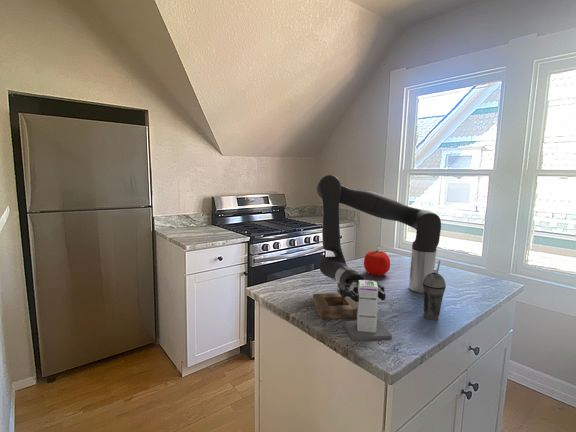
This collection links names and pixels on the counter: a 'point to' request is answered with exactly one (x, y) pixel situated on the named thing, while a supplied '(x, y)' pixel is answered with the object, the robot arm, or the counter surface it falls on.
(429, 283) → the beverage cup
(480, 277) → the counter surface
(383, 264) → the tomato
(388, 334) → the charcoal rubber mat
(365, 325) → the syrup box
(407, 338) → the counter surface
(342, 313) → the walnut socket stand
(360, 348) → the counter surface
